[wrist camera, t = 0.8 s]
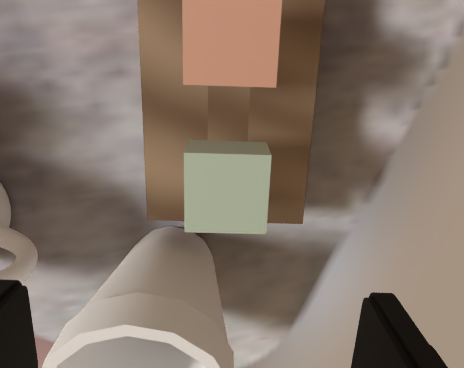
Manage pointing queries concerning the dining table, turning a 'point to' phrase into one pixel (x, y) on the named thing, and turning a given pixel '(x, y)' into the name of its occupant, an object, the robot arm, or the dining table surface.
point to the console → (228, 108)
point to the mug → (15, 245)
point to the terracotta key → (231, 42)
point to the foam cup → (151, 311)
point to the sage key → (226, 186)
